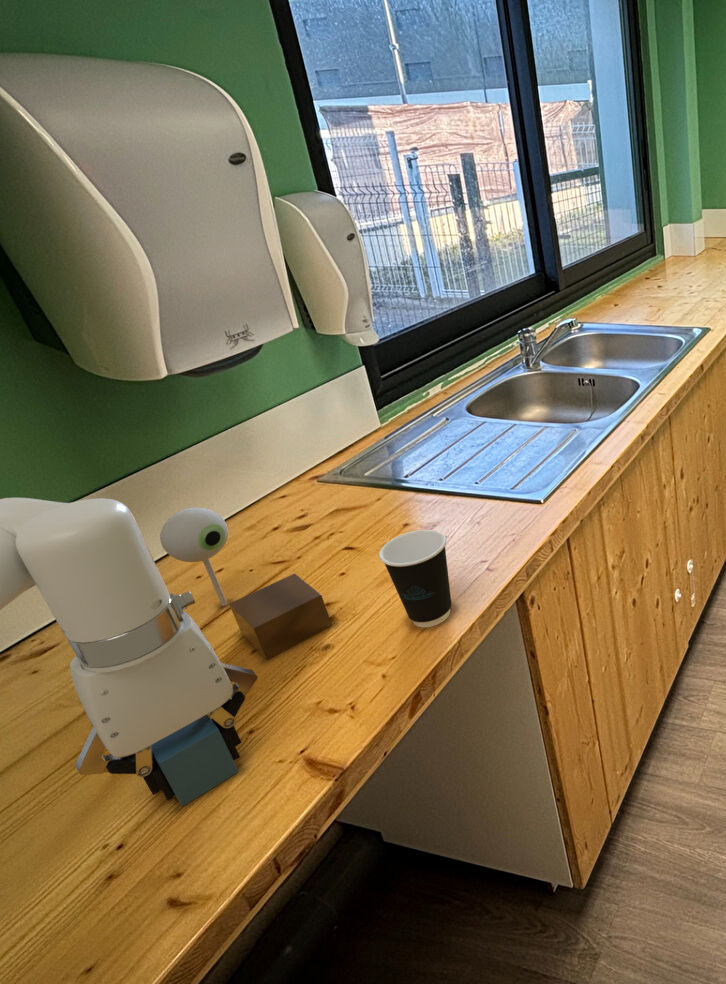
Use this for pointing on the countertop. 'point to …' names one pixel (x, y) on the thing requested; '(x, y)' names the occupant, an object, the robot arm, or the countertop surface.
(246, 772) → the countertop surface
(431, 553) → the dixie cup
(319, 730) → the countertop surface
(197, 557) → the lollipop
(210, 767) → the top block
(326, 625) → the base block
